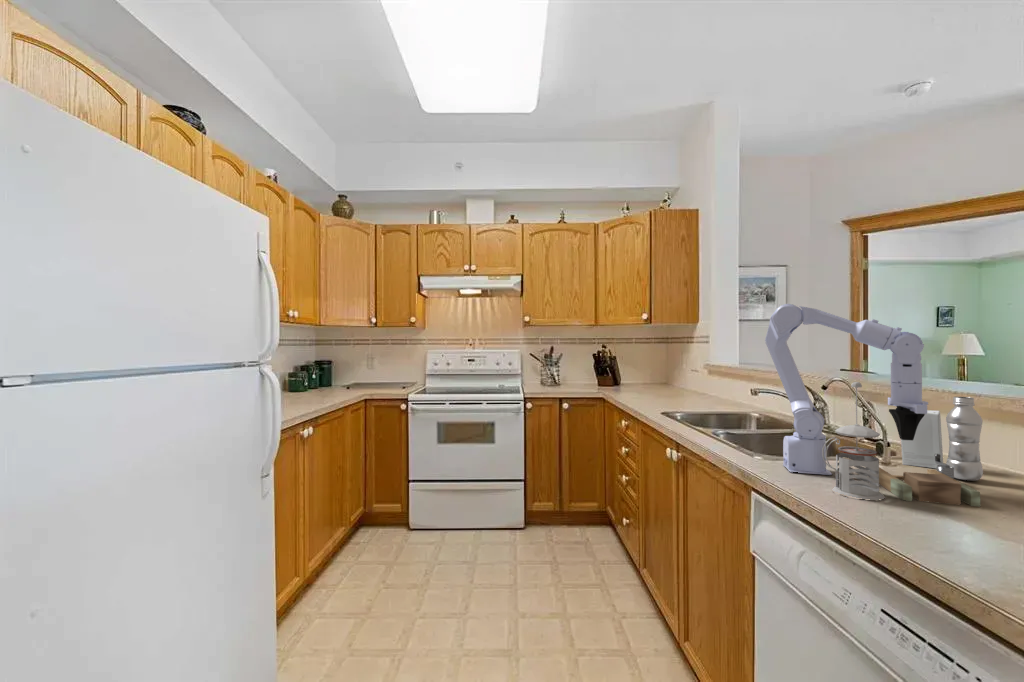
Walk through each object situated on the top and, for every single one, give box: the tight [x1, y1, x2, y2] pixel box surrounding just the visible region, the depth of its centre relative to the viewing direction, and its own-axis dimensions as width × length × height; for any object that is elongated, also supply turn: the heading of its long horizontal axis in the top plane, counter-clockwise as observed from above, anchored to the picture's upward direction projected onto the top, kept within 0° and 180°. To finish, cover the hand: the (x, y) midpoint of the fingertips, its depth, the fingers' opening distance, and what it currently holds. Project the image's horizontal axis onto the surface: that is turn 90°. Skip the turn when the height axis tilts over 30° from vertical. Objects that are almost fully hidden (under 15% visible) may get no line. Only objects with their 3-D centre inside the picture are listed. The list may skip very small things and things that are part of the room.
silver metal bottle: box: [945, 396, 984, 482], centre depth 114 cm, size 6×7×20 cm
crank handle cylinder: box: [935, 454, 955, 479], centre depth 112 cm, size 3×5×6 cm, turn 162°
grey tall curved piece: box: [822, 381, 886, 500], centre depth 105 cm, size 10×12×25 cm
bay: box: [879, 467, 981, 507], centre depth 107 cm, size 13×18×3 cm
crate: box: [902, 471, 961, 505], centre depth 102 cm, size 7×7×4 cm
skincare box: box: [900, 409, 944, 470], centre depth 128 cm, size 8×6×15 cm
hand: (906, 439), depth 112 cm, fingers closed
